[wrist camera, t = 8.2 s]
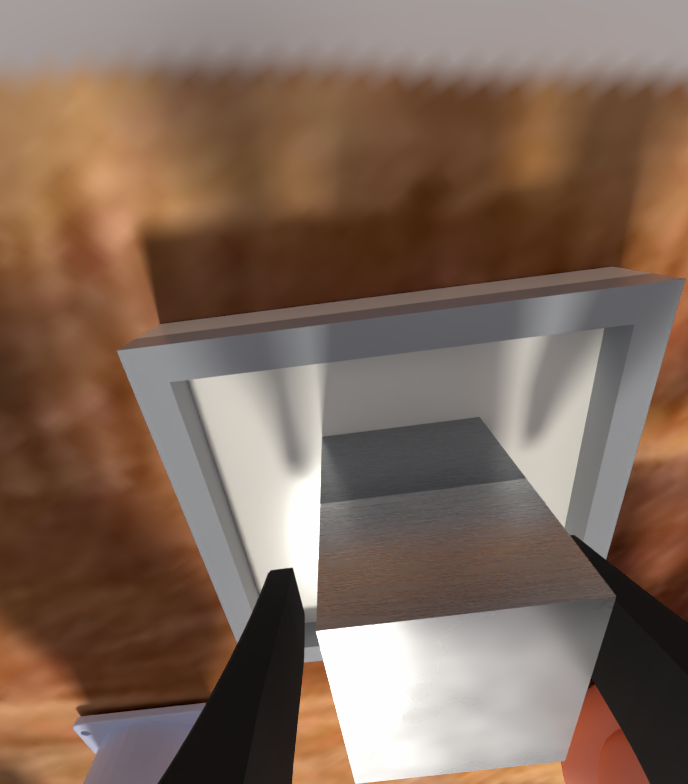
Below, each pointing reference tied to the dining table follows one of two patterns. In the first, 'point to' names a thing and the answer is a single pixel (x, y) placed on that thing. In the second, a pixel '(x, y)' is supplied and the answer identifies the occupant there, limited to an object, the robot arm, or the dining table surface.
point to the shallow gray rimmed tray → (397, 405)
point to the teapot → (600, 748)
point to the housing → (449, 605)
